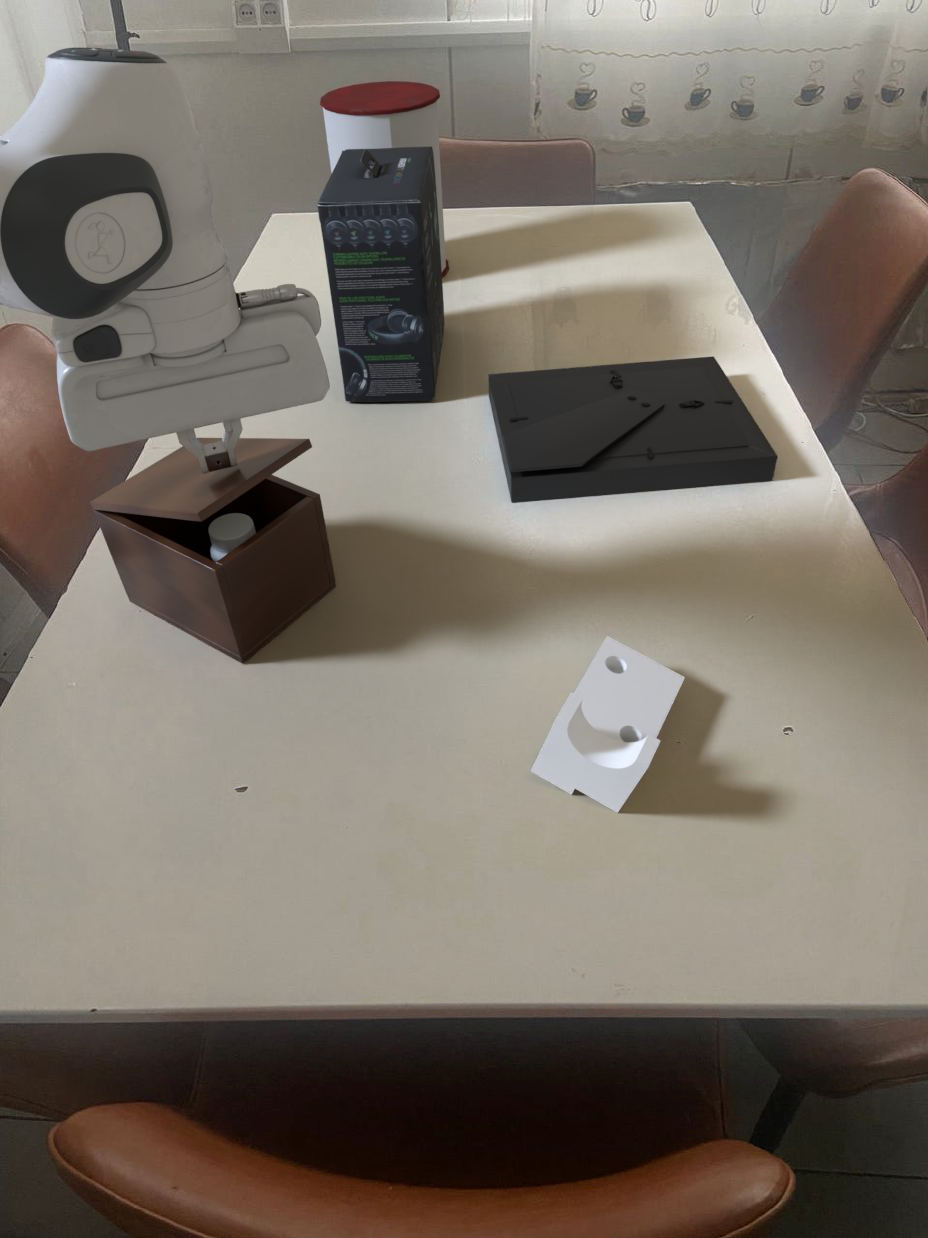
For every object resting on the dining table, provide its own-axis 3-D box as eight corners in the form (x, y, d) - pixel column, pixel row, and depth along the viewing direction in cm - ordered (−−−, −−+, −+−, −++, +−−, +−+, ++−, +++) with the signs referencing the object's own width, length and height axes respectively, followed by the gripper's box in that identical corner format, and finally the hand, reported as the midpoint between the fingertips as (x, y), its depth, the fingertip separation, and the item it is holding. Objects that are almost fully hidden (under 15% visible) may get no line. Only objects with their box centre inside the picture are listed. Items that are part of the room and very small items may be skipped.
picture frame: (511, 502, 95) (772, 480, 96) (511, 469, 92) (780, 447, 93) (488, 396, 112) (710, 378, 113) (487, 365, 109) (715, 347, 110)
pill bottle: (281, 582, 86) (264, 510, 80) (268, 615, 82) (249, 542, 77) (233, 580, 86) (213, 509, 81) (218, 613, 83) (196, 541, 77)
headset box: (363, 327, 129) (339, 129, 111) (446, 325, 128) (435, 125, 111) (342, 405, 112) (310, 187, 95) (437, 403, 112) (422, 183, 94)
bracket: (613, 818, 66) (648, 767, 61) (530, 771, 68) (556, 716, 62) (669, 702, 75) (704, 647, 69) (594, 661, 76) (622, 604, 70)
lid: (313, 446, 75) (309, 438, 75) (201, 522, 68) (197, 513, 68) (200, 444, 86) (197, 437, 85) (93, 509, 78) (89, 501, 78)
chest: (336, 586, 86) (320, 494, 79) (243, 664, 79) (214, 570, 72) (225, 534, 93) (200, 445, 86) (129, 601, 86) (93, 510, 78)
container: (373, 245, 152) (355, 78, 136) (466, 256, 147) (459, 83, 130) (323, 284, 141) (296, 106, 124) (421, 297, 135) (407, 113, 119)
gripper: (305, 264, 69) (330, 421, 79) (30, 314, 65) (92, 474, 74) (324, 294, 65) (349, 456, 74) (31, 350, 60) (97, 516, 70)
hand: (219, 466), depth 74 cm, fingers closed
